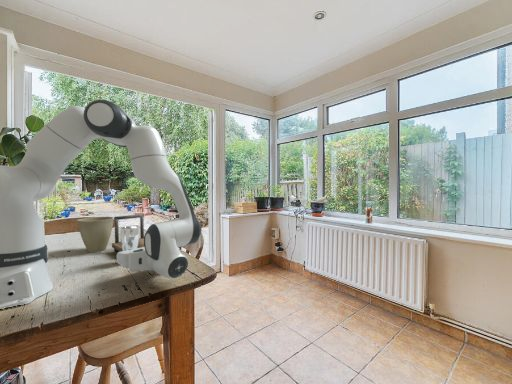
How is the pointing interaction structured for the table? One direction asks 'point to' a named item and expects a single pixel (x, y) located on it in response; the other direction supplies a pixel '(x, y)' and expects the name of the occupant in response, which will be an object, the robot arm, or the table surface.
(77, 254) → the table surface
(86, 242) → the plant pot
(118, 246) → the dolly
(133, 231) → the beer glass
